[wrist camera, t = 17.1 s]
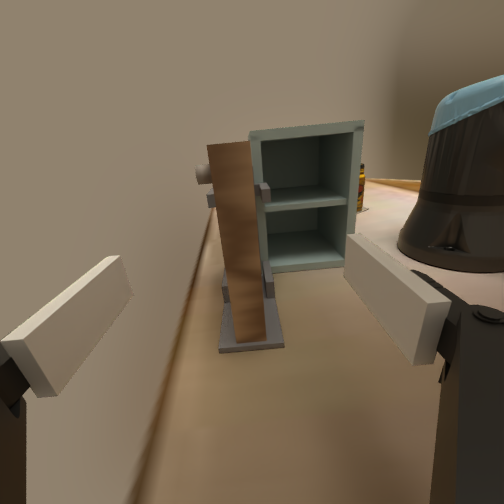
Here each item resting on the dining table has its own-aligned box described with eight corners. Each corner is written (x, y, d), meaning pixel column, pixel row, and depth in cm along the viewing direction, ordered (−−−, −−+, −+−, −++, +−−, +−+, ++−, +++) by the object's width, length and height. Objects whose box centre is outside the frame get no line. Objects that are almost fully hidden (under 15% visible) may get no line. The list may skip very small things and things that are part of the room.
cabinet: (321, 232, 52) (324, 129, 44) (414, 335, 23) (472, 95, 15) (231, 240, 52) (217, 139, 44) (215, 353, 24) (169, 124, 16)
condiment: (353, 215, 61) (358, 165, 56) (326, 210, 68) (327, 165, 63) (369, 209, 65) (374, 162, 60) (341, 205, 71) (344, 162, 67)
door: (258, 276, 36) (246, 143, 28) (266, 340, 24) (250, 140, 16) (230, 278, 36) (211, 147, 28) (224, 344, 24) (189, 146, 16)
